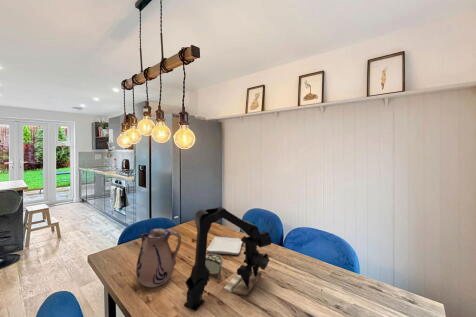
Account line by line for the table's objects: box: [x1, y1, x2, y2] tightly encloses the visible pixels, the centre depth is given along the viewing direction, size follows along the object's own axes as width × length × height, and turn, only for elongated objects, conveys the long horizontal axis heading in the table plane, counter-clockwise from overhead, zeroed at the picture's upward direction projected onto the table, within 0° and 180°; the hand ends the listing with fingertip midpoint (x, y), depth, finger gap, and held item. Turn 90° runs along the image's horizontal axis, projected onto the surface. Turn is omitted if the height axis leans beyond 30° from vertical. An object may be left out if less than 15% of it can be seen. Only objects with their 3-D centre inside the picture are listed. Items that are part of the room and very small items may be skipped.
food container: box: [205, 253, 224, 281], centre depth 114 cm, size 12×6×10 cm, turn 59°
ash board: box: [223, 273, 243, 293], centre depth 109 cm, size 18×4×1 cm, turn 151°
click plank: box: [232, 271, 263, 296], centre depth 106 cm, size 18×7×1 cm, turn 151°
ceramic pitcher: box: [135, 227, 182, 288], centre depth 108 cm, size 18×21×25 cm
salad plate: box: [206, 236, 243, 256], centre depth 145 cm, size 21×21×3 cm
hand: (251, 280), depth 105 cm, fingers open, 9 cm apart
